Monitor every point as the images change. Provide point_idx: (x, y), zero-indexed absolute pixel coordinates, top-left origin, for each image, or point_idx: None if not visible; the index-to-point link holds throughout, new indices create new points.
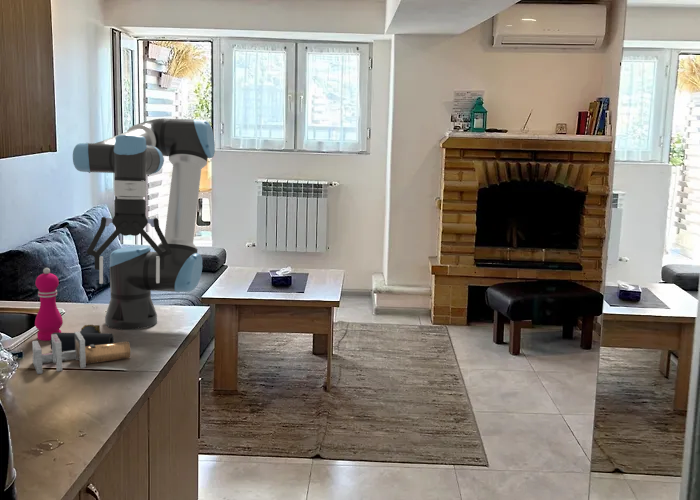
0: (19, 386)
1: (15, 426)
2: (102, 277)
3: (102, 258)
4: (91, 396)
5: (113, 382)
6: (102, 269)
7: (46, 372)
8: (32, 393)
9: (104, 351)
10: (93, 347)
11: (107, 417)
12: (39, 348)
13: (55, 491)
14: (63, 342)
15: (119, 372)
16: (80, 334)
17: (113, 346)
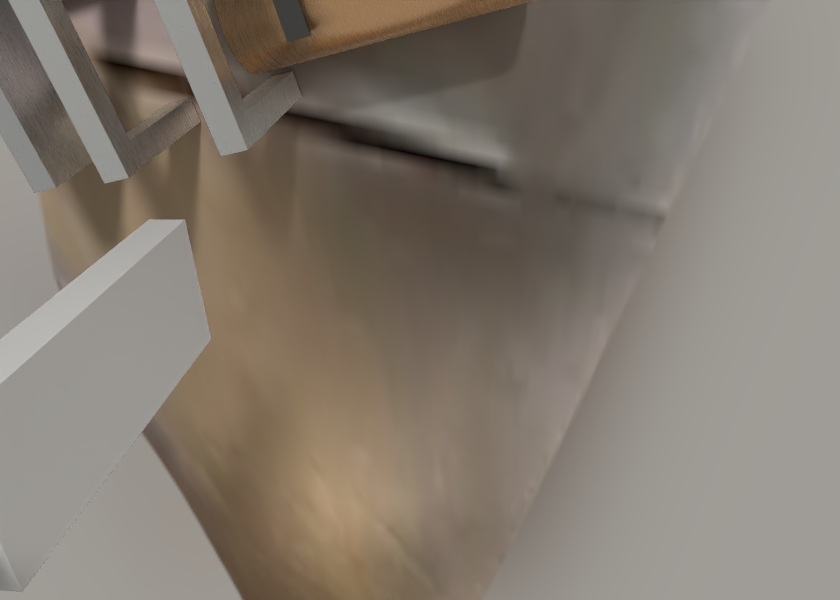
0: None
1: (216, 550)
2: (177, 381)
3: (29, 580)
4: (382, 422)
5: (452, 314)
6: (127, 448)
7: None
8: None
9: (374, 40)
10: (302, 33)
11: (450, 566)
12: (37, 167)
13: None
14: None
15: (473, 197)
16: (188, 16)
17: (422, 11)
